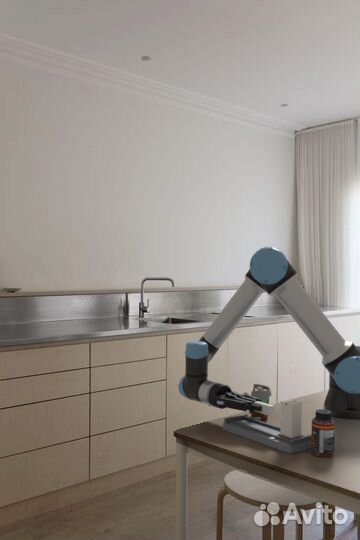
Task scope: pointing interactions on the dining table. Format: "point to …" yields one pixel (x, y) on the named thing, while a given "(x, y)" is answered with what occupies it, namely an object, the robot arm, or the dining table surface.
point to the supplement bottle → (323, 434)
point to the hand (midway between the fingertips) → (272, 410)
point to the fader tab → (290, 419)
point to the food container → (263, 394)
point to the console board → (265, 433)
